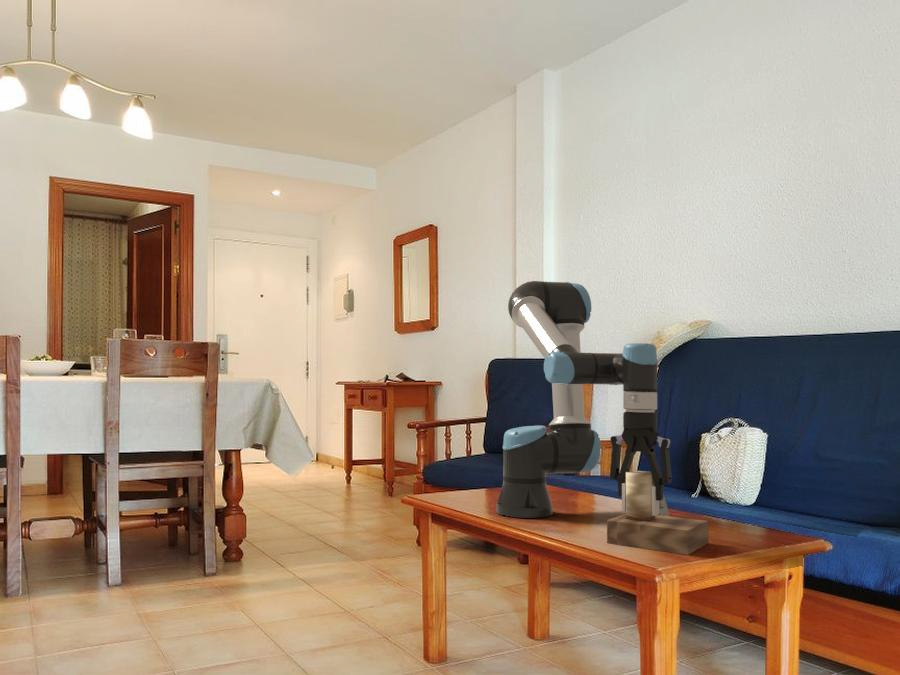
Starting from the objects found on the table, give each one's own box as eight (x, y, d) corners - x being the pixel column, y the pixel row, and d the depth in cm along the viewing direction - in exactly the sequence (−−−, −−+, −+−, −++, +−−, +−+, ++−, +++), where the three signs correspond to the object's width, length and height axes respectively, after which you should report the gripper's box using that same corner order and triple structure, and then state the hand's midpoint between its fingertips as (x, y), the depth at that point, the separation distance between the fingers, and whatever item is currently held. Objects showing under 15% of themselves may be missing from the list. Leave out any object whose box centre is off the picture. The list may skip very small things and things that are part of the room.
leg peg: (621, 537, 166) (620, 472, 167) (632, 533, 171) (632, 470, 172) (649, 541, 162) (648, 475, 163) (659, 536, 168) (659, 472, 168)
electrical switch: (656, 524, 187) (652, 487, 188) (636, 523, 190) (633, 487, 191) (670, 519, 194) (667, 483, 196) (651, 518, 198) (648, 483, 199)
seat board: (607, 542, 164) (607, 520, 165) (631, 532, 176) (631, 511, 176) (687, 555, 154) (687, 530, 154) (708, 543, 165) (708, 520, 165)
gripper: (594, 410, 171) (594, 510, 170) (676, 413, 160) (676, 520, 159) (607, 409, 177) (607, 506, 176) (687, 412, 166) (688, 515, 165)
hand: (640, 512), depth 167 cm, fingers closed on leg peg, 6 cm apart
